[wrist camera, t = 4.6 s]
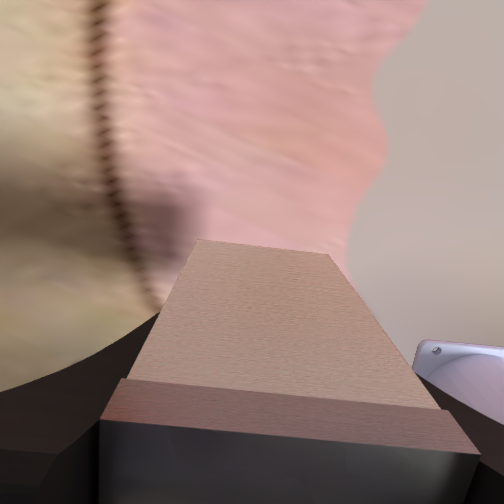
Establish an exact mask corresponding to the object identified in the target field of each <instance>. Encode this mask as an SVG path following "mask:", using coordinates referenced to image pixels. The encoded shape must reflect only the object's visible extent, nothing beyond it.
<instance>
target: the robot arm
mask: <svg viewBox="0 0 504 504" xmlns="http://www.w3.org/2000/svg"><path fill="white" fill-rule="evenodd" d="M159 314H160V312H159V313H157V314H156V315H155V316H153V317H152V318H150V319H149V320H147V321H146V322H145V323H143V324H142V325H140V326H139V327H137V328H136V329H134V330H133V331H132V332H130V333H129V334H127V335H126V336H124V337H123V338H121V339H119V340H118V341H116V342H114V343H112V344H111V345H109V346H107V347H106V348H104V349H102V350H101V351H99V352H97V353H95V354H94V355H92V356H90V357H88V358H86V359H84V360H82V361H80V362H78V363H76V364H73V365H71V366H69V367H67V368H65V369H63V370H60V371H58V372H56V373H53V374H50V375H48V376H45V377H42V378H40V379H37V380H34V381H32V382H29V383H26V384H24V385H21V386H18V387H15V388H12V389H9V390H6V391H3V392H0V504H99V419H100V417H101V415H102V414H103V412H104V410H105V408H106V406H107V404H108V402H109V400H110V399H111V397H112V395H113V393H114V391H115V389H116V387H117V385H118V384H119V382H120V380H121V378H124V379H126V378H127V376H128V375H129V373H130V371H131V369H132V367H133V365H134V363H135V361H136V359H137V357H138V355H139V353H140V351H141V349H142V347H143V345H144V343H145V341H146V339H147V337H148V335H149V333H150V331H151V330H152V328H153V326H154V324H155V322H156V320H157V318H158V316H159ZM436 347H438V349H437V350H436V351H433V349H434V348H436ZM412 370H413V371H414V373H415V374H416V375H417V377H418V378H419V380H420V381H421V382H422V384H423V385H424V386H425V388H426V389H427V391H428V392H429V393H430V395H431V396H432V397H433V399H434V400H435V402H436V403H437V404H438V406H439V407H440V408H441V410H448V411H449V412H450V414H451V415H452V416H453V418H454V419H455V420H456V422H457V423H458V424H459V426H460V427H461V428H462V430H463V431H464V432H465V434H466V435H467V436H468V438H469V439H470V440H471V442H472V443H473V444H474V446H475V447H476V448H477V450H478V451H479V452H480V454H481V456H480V459H479V462H478V465H477V467H476V470H475V473H474V475H473V478H472V481H471V484H470V486H469V489H468V492H467V495H466V497H465V500H464V503H463V504H504V347H499V346H489V345H478V344H467V343H458V342H447V341H437V340H423V341H422V342H420V343H419V345H418V347H417V351H416V354H415V358H414V362H413V365H412Z"/></svg>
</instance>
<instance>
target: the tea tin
mask: <svg viewBox="0 0 504 504" xmlns="http://www.w3.org/2000/svg"><path fill="white" fill-rule="evenodd" d="M480 456H481V454H480V452H479V451H478V450H477V448H476V447H475V446H474V444H473V443H472V442H471V440H470V439H469V438H468V436H467V435H466V434H465V432H464V431H463V430H462V428H461V427H460V426H459V424H458V423H457V422H456V420H455V419H454V418H453V416H452V415H451V414H450V412H449V411H448V410H441V408H440V407H439V406H438V404H437V403H436V402H435V400H434V399H433V397H432V396H431V395H430V393H429V392H428V391H427V389H426V388H425V386H424V385H423V384H422V382H421V381H420V380H419V378H418V377H417V375H416V374H415V373H414V371H413V370H412V369H411V367H410V366H409V365H408V363H407V362H406V360H405V359H404V358H403V356H402V355H401V353H400V352H399V351H398V349H397V348H396V347H395V345H394V344H393V343H392V341H391V340H390V338H389V337H388V336H387V334H386V333H385V332H384V330H383V329H382V327H381V326H380V325H379V323H378V322H377V320H376V319H375V318H374V316H373V315H372V314H371V312H370V311H369V309H368V308H367V307H366V305H365V304H364V303H363V301H362V300H361V298H360V297H359V296H358V294H357V293H356V292H355V290H354V289H353V287H352V286H351V285H350V283H349V282H348V281H347V279H346V278H345V276H344V275H343V274H342V272H341V271H340V270H339V268H338V267H337V265H336V264H335V263H334V261H333V260H332V259H331V257H330V256H329V254H321V253H312V252H303V251H295V250H286V249H278V248H269V247H260V246H252V245H243V244H235V243H226V242H218V241H209V240H200V239H198V240H197V242H196V243H195V245H194V247H193V249H192V251H191V253H190V255H189V257H188V259H187V261H186V263H185V265H184V267H183V269H182V271H181V273H180V275H179V277H178V279H177V281H176V283H175V285H174V287H173V288H172V290H171V292H170V294H169V296H168V298H167V300H166V302H165V304H164V306H163V308H162V310H161V312H160V314H159V316H158V318H157V320H156V322H155V324H154V326H153V328H152V330H151V331H150V333H149V335H148V337H147V339H146V341H145V343H144V345H143V347H142V349H141V351H140V353H139V355H138V357H137V359H136V361H135V363H134V365H133V367H132V369H131V371H130V373H129V375H128V376H127V378H126V379H124V378H121V380H120V382H119V384H118V385H117V387H116V389H115V391H114V393H113V395H112V397H111V399H110V400H109V402H108V404H107V406H106V408H105V410H104V412H103V414H102V415H101V417H100V419H99V504H463V503H464V500H465V497H466V495H467V492H468V489H469V486H470V484H471V481H472V478H473V475H474V473H475V470H476V467H477V465H478V462H479V459H480Z"/></svg>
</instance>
